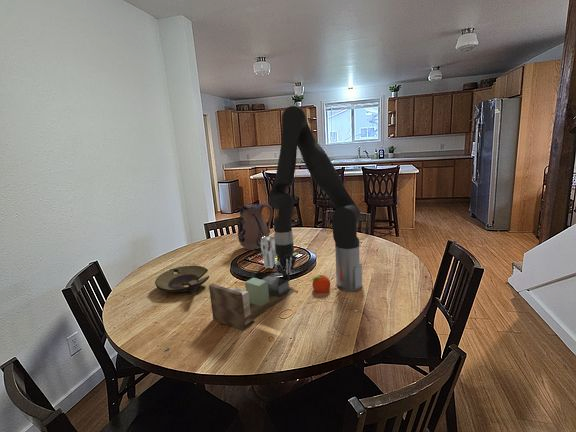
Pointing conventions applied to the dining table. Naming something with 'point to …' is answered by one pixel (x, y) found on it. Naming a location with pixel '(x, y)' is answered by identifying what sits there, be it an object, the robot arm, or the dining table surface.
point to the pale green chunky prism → (257, 291)
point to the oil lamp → (181, 279)
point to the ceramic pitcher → (253, 225)
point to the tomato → (321, 283)
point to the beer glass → (268, 251)
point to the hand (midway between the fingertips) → (286, 281)
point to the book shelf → (238, 306)
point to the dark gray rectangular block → (277, 286)
